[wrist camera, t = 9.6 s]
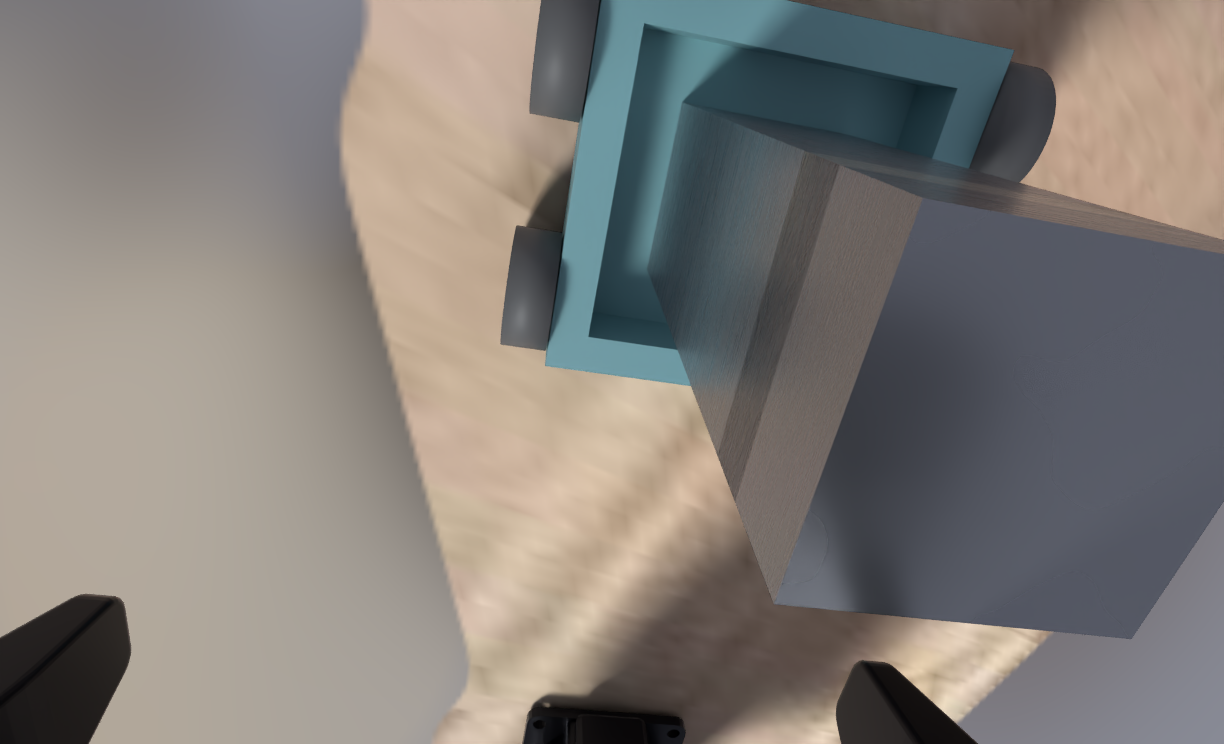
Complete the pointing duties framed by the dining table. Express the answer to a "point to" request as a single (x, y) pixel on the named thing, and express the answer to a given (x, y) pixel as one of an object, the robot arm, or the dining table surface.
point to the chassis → (737, 82)
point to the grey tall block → (942, 377)
